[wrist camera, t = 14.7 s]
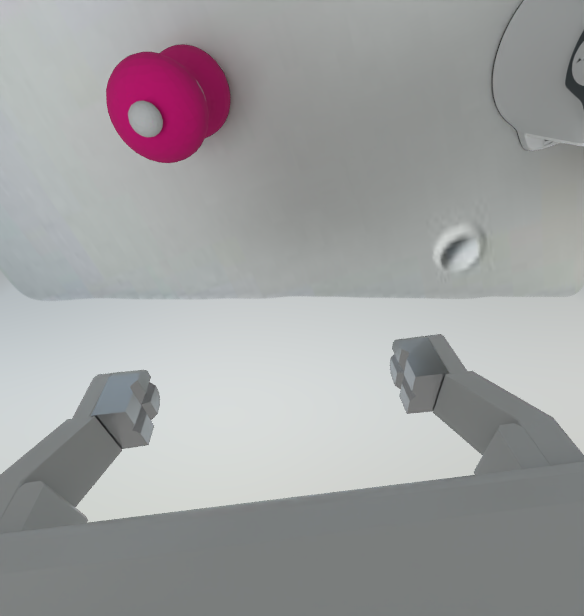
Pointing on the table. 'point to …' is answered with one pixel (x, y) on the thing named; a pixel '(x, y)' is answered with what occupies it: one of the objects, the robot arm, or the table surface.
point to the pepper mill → (167, 101)
